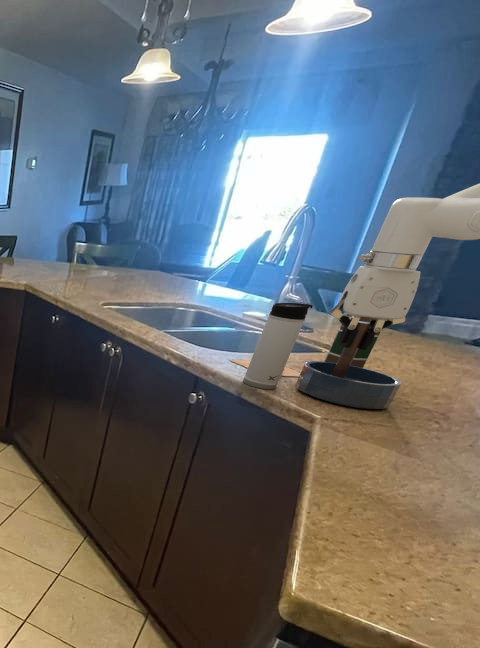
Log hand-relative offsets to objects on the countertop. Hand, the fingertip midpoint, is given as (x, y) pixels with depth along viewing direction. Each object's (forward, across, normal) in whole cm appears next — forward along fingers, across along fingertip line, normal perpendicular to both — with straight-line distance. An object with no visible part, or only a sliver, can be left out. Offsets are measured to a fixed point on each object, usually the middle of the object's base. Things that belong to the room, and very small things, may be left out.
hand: (351, 346), depth 108 cm
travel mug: (+12, -14, 0) cm, 18 cm away
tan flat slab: (+12, -6, +16) cm, 21 cm away
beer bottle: (+12, +11, +23) cm, 28 cm away
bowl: (+12, +1, -1) cm, 12 cm away
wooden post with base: (+10, 0, 0) cm, 10 cm away
